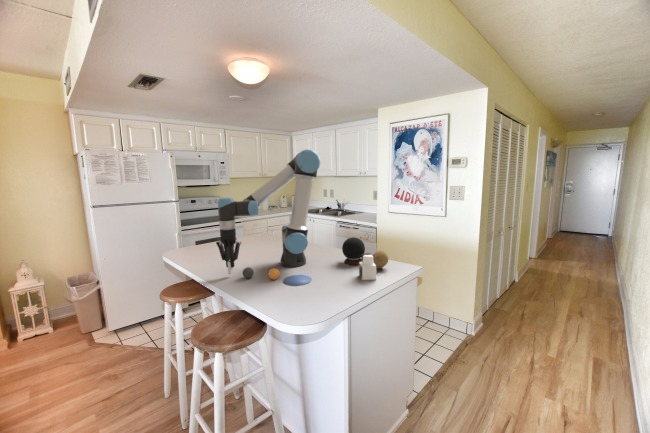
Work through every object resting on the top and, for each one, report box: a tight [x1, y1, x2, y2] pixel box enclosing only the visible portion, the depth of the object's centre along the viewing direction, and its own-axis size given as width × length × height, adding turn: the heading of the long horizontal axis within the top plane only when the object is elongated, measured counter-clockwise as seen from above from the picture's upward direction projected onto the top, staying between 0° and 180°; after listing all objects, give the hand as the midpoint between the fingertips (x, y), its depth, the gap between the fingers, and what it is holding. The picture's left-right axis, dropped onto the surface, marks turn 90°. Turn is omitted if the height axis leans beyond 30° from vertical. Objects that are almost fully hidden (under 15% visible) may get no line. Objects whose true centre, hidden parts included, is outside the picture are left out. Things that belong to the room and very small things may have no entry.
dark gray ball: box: [242, 266, 255, 279], centre depth 146 cm, size 6×6×6 cm
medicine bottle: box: [358, 252, 377, 281], centre depth 142 cm, size 7×7×12 cm
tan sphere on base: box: [373, 250, 389, 269], centre depth 154 cm, size 9×9×10 cm
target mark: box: [282, 274, 312, 287], centre depth 141 cm, size 14×14×1 cm
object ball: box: [268, 268, 281, 280], centre depth 143 cm, size 6×6×6 cm
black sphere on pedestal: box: [341, 236, 366, 267], centre depth 166 cm, size 13×13×15 cm
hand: (230, 273), depth 148 cm, fingers closed
